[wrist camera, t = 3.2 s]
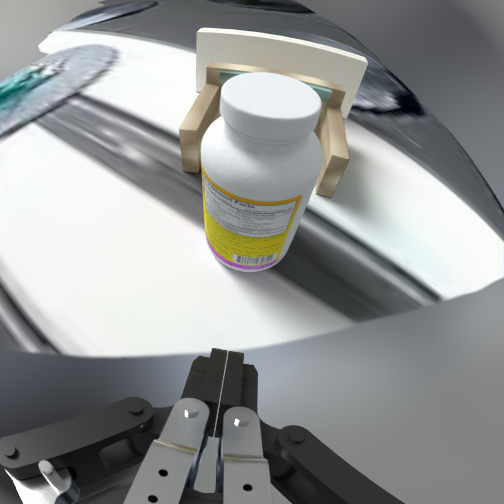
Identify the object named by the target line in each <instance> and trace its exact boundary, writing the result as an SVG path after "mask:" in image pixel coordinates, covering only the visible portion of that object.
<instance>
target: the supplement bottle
mask: <svg viewBox="0 0 504 504" xmlns="http://www.w3.org/2000/svg"><path fill="white" fill-rule="evenodd" d="M321 107H322V102H321V99H320V97H319V95H318V94H317V92H316V91H314V90H313V89H312V88H311V87H310V86H308V85H307V84H305V83H303V82H301V81H299V80H297V79H294V78H291V77H288V76H284V75H280V74H275V73H267V72H252V73H245V74H240V75H237V76H235V77H232V78H230V79H229V80H228V81H226V82H225V84H224V85H223V87H222V89H221V100H220V114H221V117H219V118H218V119H216V120H215V121H214V122H213V123H212V124H211V125H210V126H209V128H208V129H207V131H206V132H205V134H204V136H203V139H202V143H201V168H202V187H203V205H204V220H205V233H206V240H207V244H208V246H209V249H210V251H211V252H212V254H213V255H214V256H215V257H216V258H217V259H218V260H219V261H220V262H221V263H223V264H224V265H226V266H227V267H229V268H232V269H234V270H238V271H242V272H258V271H263V270H266V269H268V268H270V267H272V266H274V265H276V264H277V263H278V262H279V261H280V260H281V259H282V258H283V257H284V256H285V254H286V253H287V251H288V249H289V247H290V244H291V242H292V240H293V238H294V235H295V233H296V230H297V228H298V225H299V223H300V220H301V218H302V216H303V213H304V211H305V208H306V206H307V203H308V201H309V198H310V196H311V194H312V191H313V189H314V186H315V184H316V181H317V179H318V176H319V174H320V171H321V168H322V164H323V151H322V147H321V144H320V142H319V140H318V138H317V136H316V135H315V133H314V132H313V130H314V129H315V127H316V125H317V122H318V118H319V115H320V111H321Z"/></svg>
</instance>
